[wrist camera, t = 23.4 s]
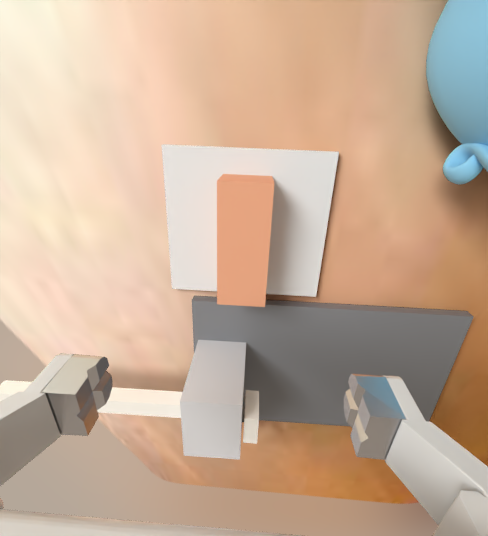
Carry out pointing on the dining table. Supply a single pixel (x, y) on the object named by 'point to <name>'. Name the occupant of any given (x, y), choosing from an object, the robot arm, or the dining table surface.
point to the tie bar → (155, 404)
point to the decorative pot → (461, 84)
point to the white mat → (283, 213)
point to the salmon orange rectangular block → (243, 238)
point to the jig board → (306, 362)
